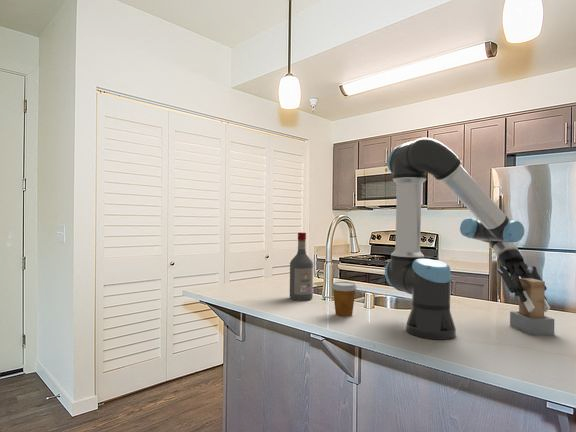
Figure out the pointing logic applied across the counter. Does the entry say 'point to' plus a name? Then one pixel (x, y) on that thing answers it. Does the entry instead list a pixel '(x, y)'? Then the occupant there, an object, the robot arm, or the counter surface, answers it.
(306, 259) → the liquor
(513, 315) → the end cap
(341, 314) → the disposable coffee cup
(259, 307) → the counter surface
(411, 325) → the robot arm
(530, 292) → the tan tall block
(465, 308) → the counter surface
